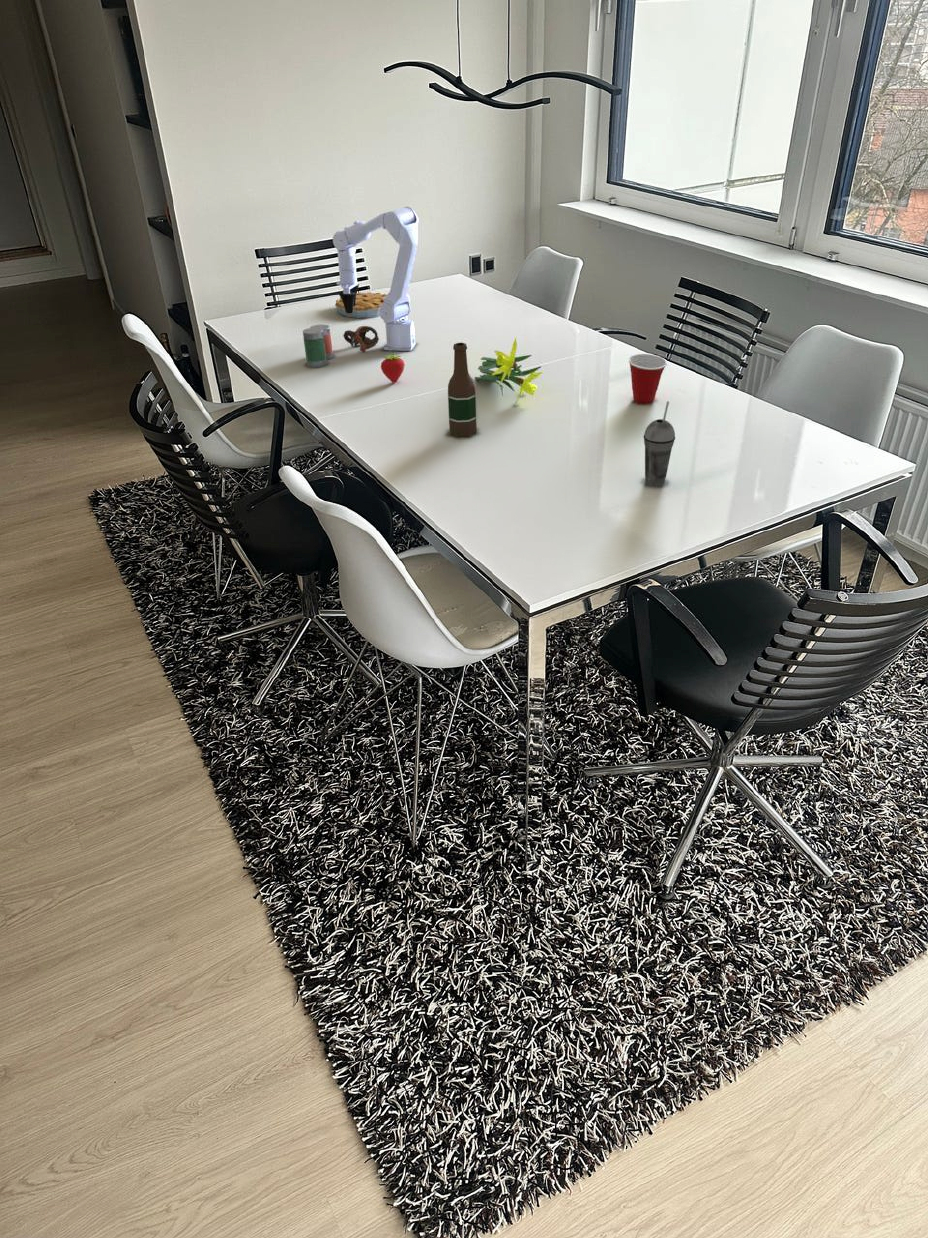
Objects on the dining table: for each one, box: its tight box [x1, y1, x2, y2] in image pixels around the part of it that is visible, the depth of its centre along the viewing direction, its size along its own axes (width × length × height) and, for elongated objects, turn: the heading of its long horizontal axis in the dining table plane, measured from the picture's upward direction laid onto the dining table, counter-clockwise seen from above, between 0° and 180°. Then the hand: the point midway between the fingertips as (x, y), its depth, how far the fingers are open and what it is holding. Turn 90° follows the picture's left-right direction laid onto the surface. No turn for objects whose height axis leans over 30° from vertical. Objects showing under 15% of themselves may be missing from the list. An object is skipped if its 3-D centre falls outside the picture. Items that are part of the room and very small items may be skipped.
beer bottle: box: [447, 342, 477, 439], centre depth 234 cm, size 8×8×24 cm
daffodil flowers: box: [474, 337, 543, 406], centre depth 259 cm, size 17×15×35 cm
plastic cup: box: [628, 353, 668, 405], centre depth 252 cm, size 11×11×12 cm
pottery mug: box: [342, 325, 380, 353], centre depth 301 cm, size 12×10×8 cm
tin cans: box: [302, 324, 334, 369], centre depth 290 cm, size 6×13×11 cm, turn 170°
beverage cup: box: [642, 400, 676, 487], centre depth 207 cm, size 7×7×20 cm
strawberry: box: [380, 350, 405, 384], centre depth 271 cm, size 6×8×10 cm
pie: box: [334, 292, 387, 319], centre depth 339 cm, size 22×22×5 cm
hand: (350, 309), depth 307 cm, fingers open, 7 cm apart
